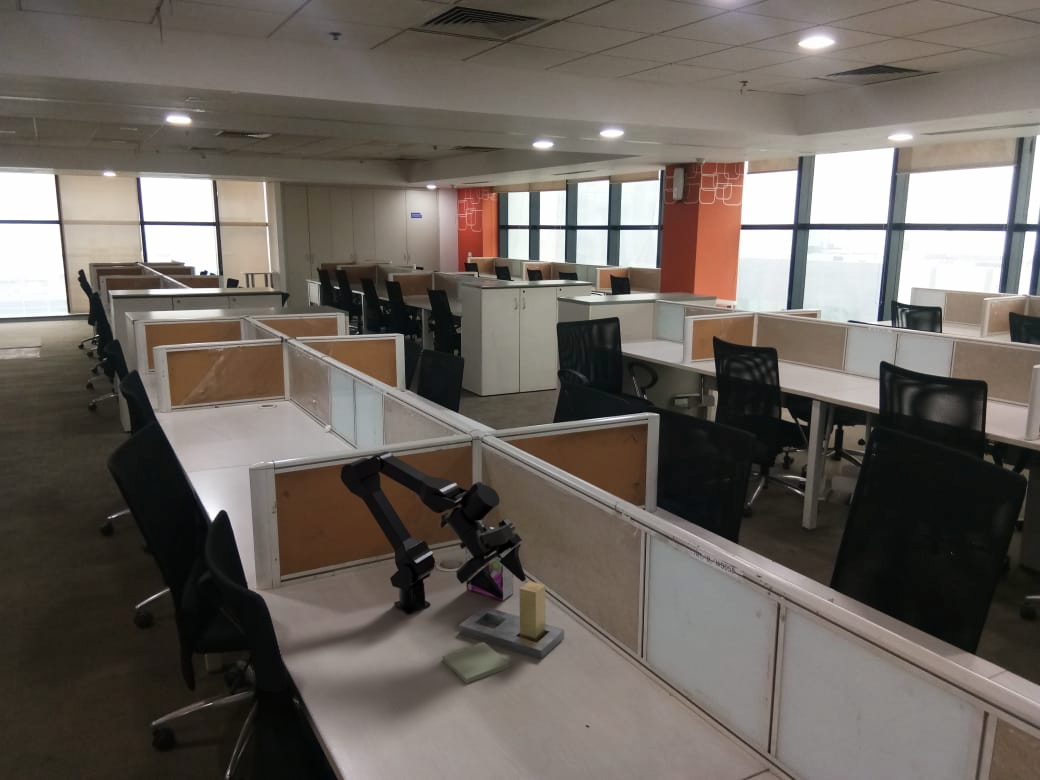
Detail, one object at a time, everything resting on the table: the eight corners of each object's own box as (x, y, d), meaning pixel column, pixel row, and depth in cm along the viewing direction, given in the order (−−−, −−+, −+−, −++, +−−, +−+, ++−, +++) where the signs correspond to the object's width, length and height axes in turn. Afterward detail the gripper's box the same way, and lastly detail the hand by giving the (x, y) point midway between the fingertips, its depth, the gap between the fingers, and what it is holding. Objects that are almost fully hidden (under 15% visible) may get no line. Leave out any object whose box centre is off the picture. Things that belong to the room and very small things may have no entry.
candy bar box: (465, 591, 191) (463, 528, 188) (477, 583, 195) (475, 522, 192) (503, 602, 185) (501, 538, 182) (514, 594, 190) (513, 531, 186)
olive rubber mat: (442, 660, 161) (442, 656, 160) (483, 646, 166) (483, 641, 166) (466, 683, 153) (466, 678, 152) (508, 667, 158) (508, 662, 158)
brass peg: (520, 644, 167) (519, 588, 164) (529, 635, 170) (529, 581, 167) (536, 649, 165) (535, 592, 162) (545, 640, 168) (545, 585, 165)
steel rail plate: (459, 633, 171) (459, 625, 171) (484, 614, 180) (484, 606, 179) (541, 659, 161) (541, 650, 160) (564, 637, 169) (564, 629, 169)
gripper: (466, 525, 159) (512, 587, 156) (513, 498, 175) (557, 553, 171) (437, 553, 165) (481, 613, 161) (485, 525, 180) (527, 579, 177)
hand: (513, 588), depth 168 cm, fingers open, 9 cm apart
